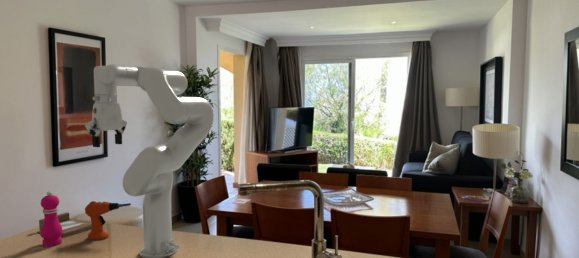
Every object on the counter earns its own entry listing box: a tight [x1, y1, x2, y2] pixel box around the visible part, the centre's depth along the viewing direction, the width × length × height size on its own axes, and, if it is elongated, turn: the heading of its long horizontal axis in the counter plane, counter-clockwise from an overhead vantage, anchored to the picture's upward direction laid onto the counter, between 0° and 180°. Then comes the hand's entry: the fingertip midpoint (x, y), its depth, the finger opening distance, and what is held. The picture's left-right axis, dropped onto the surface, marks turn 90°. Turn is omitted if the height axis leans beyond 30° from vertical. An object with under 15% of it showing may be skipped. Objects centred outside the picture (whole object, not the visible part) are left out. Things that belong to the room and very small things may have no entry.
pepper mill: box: [39, 190, 63, 247], centre depth 150 cm, size 7×7×20 cm
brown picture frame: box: [38, 212, 92, 239], centre depth 166 cm, size 16×12×5 cm
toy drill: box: [84, 200, 132, 241], centre depth 156 cm, size 5×19×15 cm, turn 87°
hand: (107, 145), depth 150 cm, fingers open, 9 cm apart
